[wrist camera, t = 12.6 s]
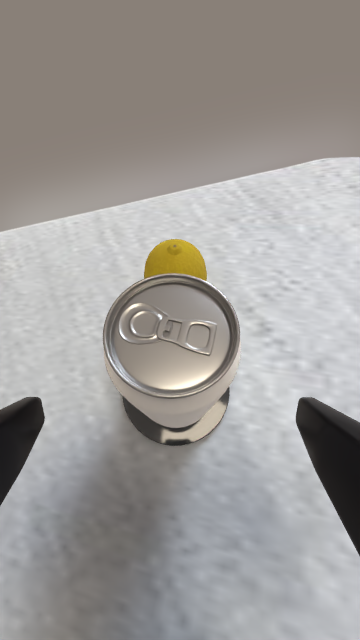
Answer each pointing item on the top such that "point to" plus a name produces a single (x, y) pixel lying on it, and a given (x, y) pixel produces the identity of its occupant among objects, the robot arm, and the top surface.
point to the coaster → (178, 434)
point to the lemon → (175, 260)
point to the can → (172, 347)
